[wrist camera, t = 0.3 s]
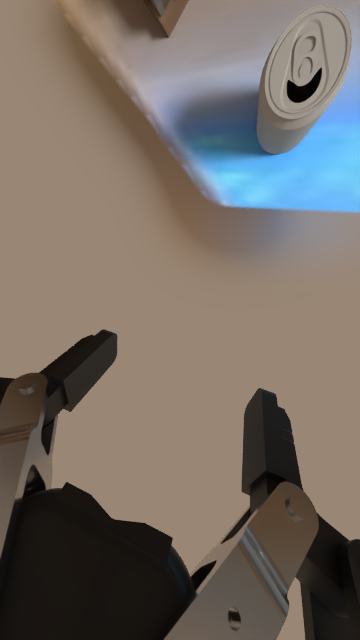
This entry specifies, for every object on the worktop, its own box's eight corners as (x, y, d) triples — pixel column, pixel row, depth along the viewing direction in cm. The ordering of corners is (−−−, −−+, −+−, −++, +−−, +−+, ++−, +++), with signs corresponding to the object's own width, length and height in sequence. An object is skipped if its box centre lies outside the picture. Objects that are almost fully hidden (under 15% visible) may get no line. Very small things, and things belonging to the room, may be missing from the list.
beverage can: (256, 161, 27) (259, 136, 17) (256, 97, 24) (260, 23, 14) (309, 147, 25) (348, 108, 15) (316, 74, 22) (370, -32, 12)
